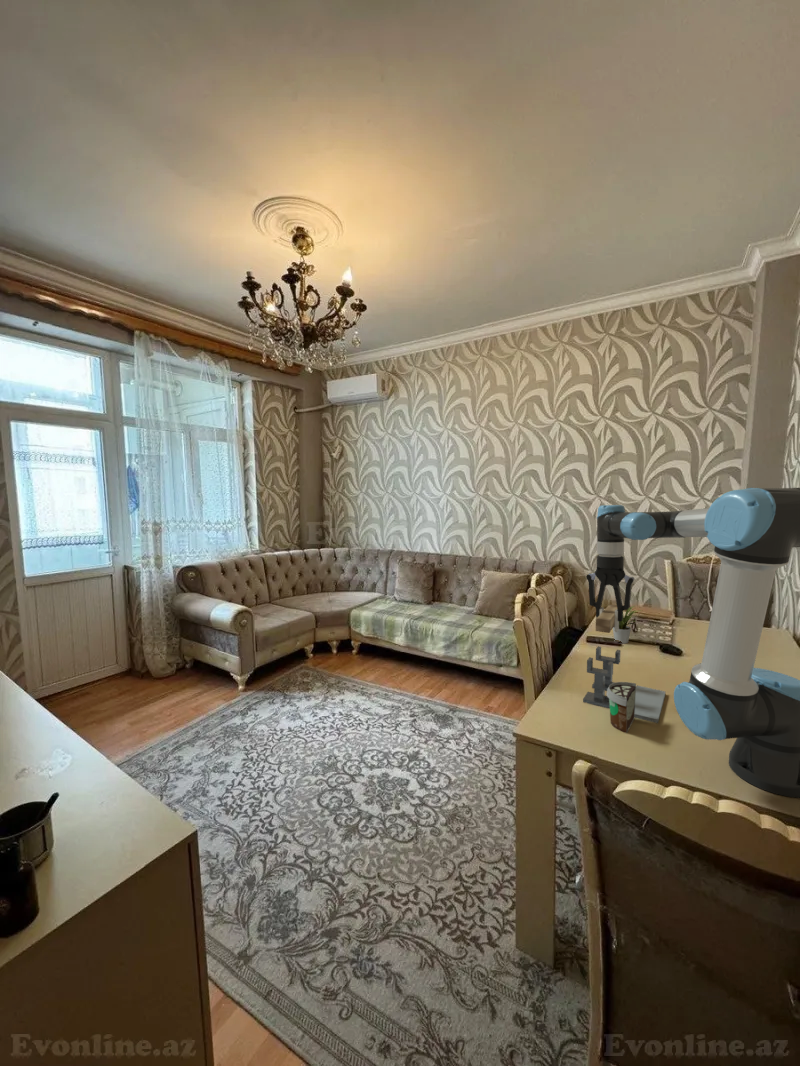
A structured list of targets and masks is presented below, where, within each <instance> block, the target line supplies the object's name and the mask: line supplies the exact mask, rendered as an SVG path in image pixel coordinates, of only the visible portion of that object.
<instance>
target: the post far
mask: <svg viewBox="0 0 800 1066" xmlns="http://www.w3.org/2000/svg"><path fill="white" fill-rule="evenodd" d="M614 654H615V655H614V657H610V656H605V655H602V646H599V645H598V646H596V648H595V661H599V662H602V669H603V670H608V663H609V661H611V662H613V665H620V663H621V650H620V649H616V651H615V652H614ZM612 683H616V682H615V681H613V676H612V677H606V676H605V692H607V689H608V687H609V685H610V684H612ZM591 688H592V689H594V682H593V683H592V685H591Z"/></svg>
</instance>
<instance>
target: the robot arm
mask: <svg viewBox="0 0 800 1066" xmlns="http://www.w3.org/2000/svg"><path fill="white" fill-rule="evenodd" d="M625 509H626V508H625V506H624V505H622V504H606V505H602V504H601V505H599V506H598V508H597V516H596V533H597V534H596V554H598V555H597V556H596V569H595V571H594V572H592V573H589V574H586V576H585V577H586V579H587V582H588V595H589V597H588V599H589V606H592V607H594V608H595V619H596V618H597V617H598V616H599V615H600V614H601V613H602V612H603V611H604V610H605V608H604V607H603V606H602V605H603V599H604V596H605V591H606V588H607V586H611V587H612V588H613V591H614V598H615V603H616V605H617V609H616V610H615V630H614V632H618V630H619V621H622V619H623V615H624V611H627V610H628V609H629V608H630V607H631V596H632V587H633V586H632V584H633V583H634V582H635V577H634V576H629V575H627V574H626V572H625V569H624V566H625V557H624V556H623V555H624V554H625V539H629V540H633V541H644V540H648V539H663V538H664V539H668V538H670V539H671V538H673V539H674V538H679V539H680V538H681V539H683V538H707V539H708V542H710V544H711V545H713V546H714V549H713V553H714V554H715V555H716V556H717V558H718V559H719V560H720V567H719V571H718V577H717V581H716V586H715V592H714V597H713V603H712V607H711V613H710V619H709V622H708V623H709V624H708V627H707V628H708V629H707V632H706V633H707V634H706V638H705V643H704V648H703V649H704V650H703V654H702V659H701V663H697V664H694V666H692V667H691V672H690V676H689V680H688V681H682V682H681V683H679V684H677V685H676V686H675V688H674V690H673V701H674V705H675V709H676V712H677V714H678V715H679V718H680V720H681V721H682V723H683V725H685V727H686V728H687V729H688V730H689V731H690V732H691V733H693V734H694V735H695V736H697V737H698V738H700V739H704V740H708V741H709V740H711V741H712V740H718V741H723V740H728V739H735V741H734V744H733V745H732V747H731V748H730V751H729V754H728V766H729V768H730V769H731V771H732V772H733V773H734V774H736V776H737V777H739V778H741V779H742V780H743V781H745V782H746V783H748V784H750V785H752V786H754V787H756V788H759V789H761V790H764V791H765V792H769V793H772V794H776V795H778V796H779V795H780V796H785V797H789V798H796V799H797V798H799V799H800V679H798V678H796V677H793V676H790V675H788V674H785V673H781V672H777V671H773V670H770V669H765V668H759V667H755V662H756V659H757V653H758V650H759V645H760V641H761V636H762V632H763V628H764V624H765V619H766V616H767V615H766V614H767V611H768V610H767V609H768V605H769V601H770V597H771V593H772V588H773V585H774V584H773V583H774V580H775V575H776V571H777V570H778V569H779V568H781V567H784V566H786V565H788V564H789V561H790V558H791V557H790V556H791V553H792V548H800V487H746V488H744V489H734V490H730V491H727V492H724V493H723V494H722V495H721V496H719V497H717V498H716V499H715V500H714V501H713V502H712V503H711V504H710V506H709V507H706V508H697V509H696V508H695V509H684V510H672V511H670V510H669V511H640V512H639V511H633V512H631V511H629V512H628V511H626V510H625ZM596 578H597V579H598V581H599V582H600V583H599V584H600V585H599V590H598V595H597V599H596V590H595V589H596V585H595V580H596ZM622 580H624V582H625V583H626V585H625V590H624V591H625V593H624V604H623V600H622V594H621V589H620V588H621V587H620V583H621V582H622Z"/></svg>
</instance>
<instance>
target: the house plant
mask: <svg viewBox="0 0 800 1066" xmlns="http://www.w3.org/2000/svg"><path fill="white" fill-rule="evenodd" d="M633 608H635V605H632V606H630V607H629V609H628V610H625V613H624V614H623V619H622V621H619V630H618V632H614V630H615V626H614V627H613V628H612V631H613V638H614V639H615V640H619V641H621V642H622V643H621V644H628V643H629V639H630V635H631V630H632V628H631V627H630V626H628V625H636V624H637V620H631V621H630V619H632V617H634V615H633V614H635V613H637V612H642V610H637V609H635V610H633ZM631 610H632V611H631ZM634 622H635V623H636V624H635V623H634ZM614 639H613V640H614ZM615 640H614V641H615Z"/></svg>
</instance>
